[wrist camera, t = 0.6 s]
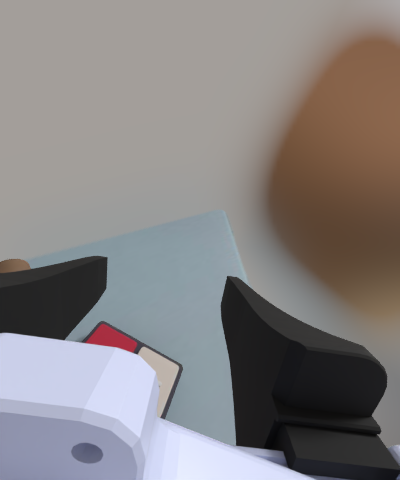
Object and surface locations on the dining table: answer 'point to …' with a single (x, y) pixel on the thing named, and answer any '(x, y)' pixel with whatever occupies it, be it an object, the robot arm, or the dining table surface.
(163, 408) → the calculator
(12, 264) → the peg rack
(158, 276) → the dining table surface
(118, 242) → the dining table surface
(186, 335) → the dining table surface
